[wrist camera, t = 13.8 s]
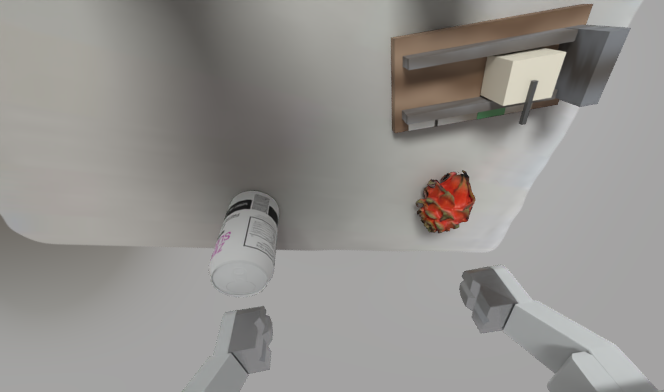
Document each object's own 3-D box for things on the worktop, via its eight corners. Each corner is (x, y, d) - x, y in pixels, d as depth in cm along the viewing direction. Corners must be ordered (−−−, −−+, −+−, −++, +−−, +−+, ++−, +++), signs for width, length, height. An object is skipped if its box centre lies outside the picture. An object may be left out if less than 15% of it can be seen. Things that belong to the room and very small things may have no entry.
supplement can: (279, 226, 49) (273, 299, 37) (232, 225, 48) (209, 300, 36) (279, 189, 44) (272, 258, 32) (227, 187, 43) (200, 258, 31)
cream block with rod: (487, 54, 34) (516, 62, 29) (534, 46, 34) (570, 52, 29) (476, 114, 38) (500, 128, 34) (518, 106, 38) (547, 120, 34)
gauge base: (391, 37, 33) (411, 45, 27) (582, 4, 33) (646, 3, 27) (392, 129, 40) (408, 151, 34) (549, 101, 40) (594, 118, 34)
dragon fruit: (411, 212, 53) (441, 156, 48) (453, 234, 50) (489, 177, 45) (402, 227, 45) (437, 162, 40) (451, 253, 43) (494, 187, 38)
